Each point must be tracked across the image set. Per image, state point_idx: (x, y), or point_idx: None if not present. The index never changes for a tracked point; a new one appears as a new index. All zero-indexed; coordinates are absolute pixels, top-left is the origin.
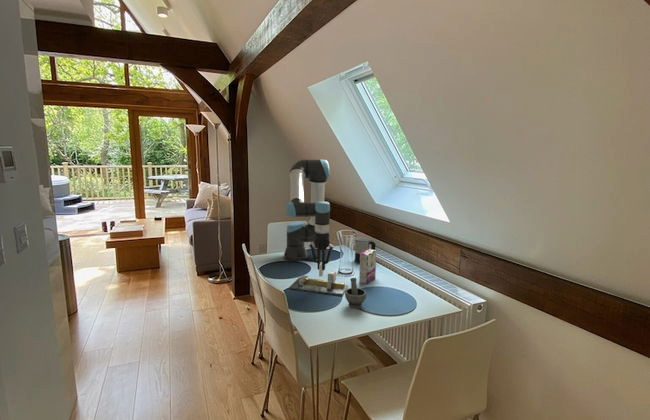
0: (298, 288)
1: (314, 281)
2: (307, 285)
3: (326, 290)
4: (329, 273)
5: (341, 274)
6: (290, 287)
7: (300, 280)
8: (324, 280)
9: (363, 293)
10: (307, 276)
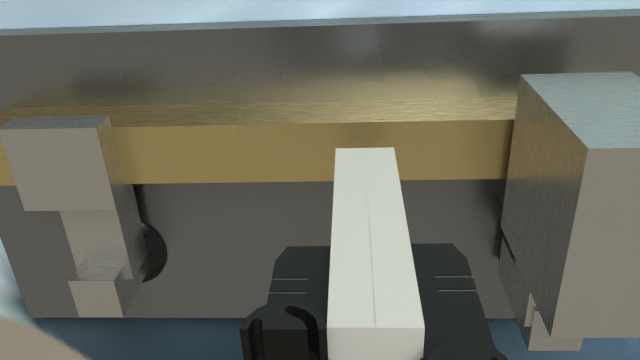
0: (144, 313)
1: (263, 174)
2: (202, 225)
3: (491, 285)
4: (584, 329)
5: None
6: (46, 311)
7: (100, 316)
8: (417, 127)
9: None
10: (99, 146)
